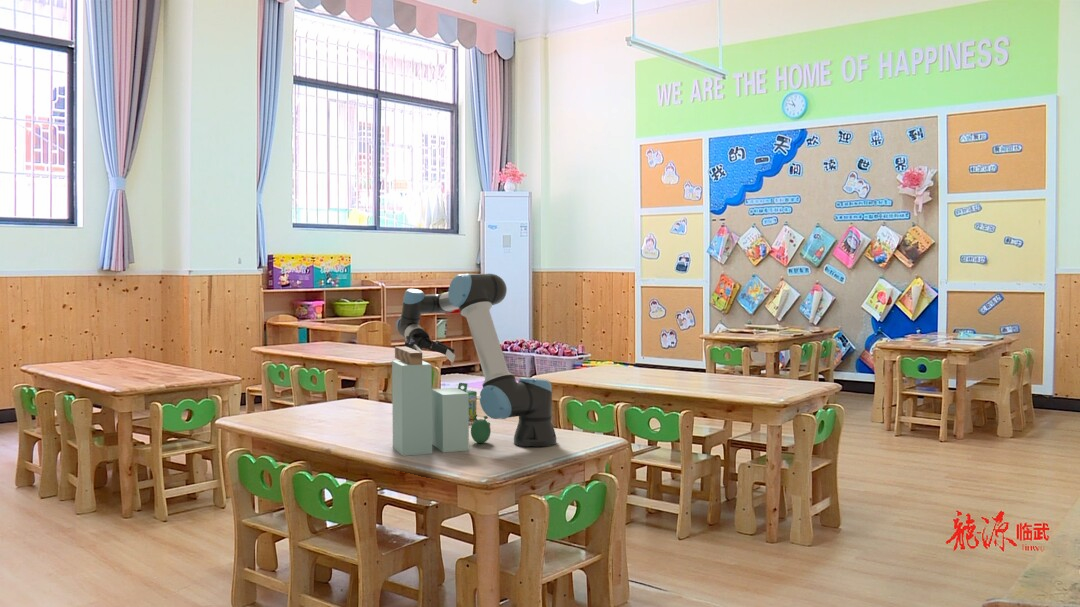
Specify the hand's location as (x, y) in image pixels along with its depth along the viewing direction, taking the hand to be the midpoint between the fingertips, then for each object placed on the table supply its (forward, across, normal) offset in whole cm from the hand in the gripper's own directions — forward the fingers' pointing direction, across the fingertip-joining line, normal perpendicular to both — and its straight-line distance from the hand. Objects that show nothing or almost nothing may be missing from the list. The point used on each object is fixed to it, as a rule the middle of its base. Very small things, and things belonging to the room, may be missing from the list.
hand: (437, 356), depth 324 cm
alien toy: (+25, -14, -22) cm, 36 cm away
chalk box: (-22, -30, -32) cm, 49 cm away
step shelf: (+26, +5, -25) cm, 36 cm away
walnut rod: (+12, +16, +1) cm, 20 cm away
